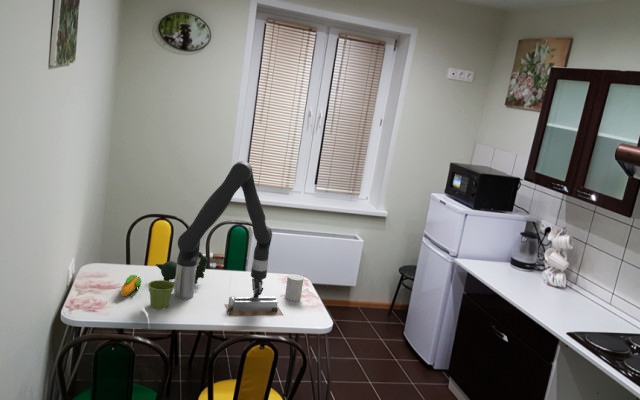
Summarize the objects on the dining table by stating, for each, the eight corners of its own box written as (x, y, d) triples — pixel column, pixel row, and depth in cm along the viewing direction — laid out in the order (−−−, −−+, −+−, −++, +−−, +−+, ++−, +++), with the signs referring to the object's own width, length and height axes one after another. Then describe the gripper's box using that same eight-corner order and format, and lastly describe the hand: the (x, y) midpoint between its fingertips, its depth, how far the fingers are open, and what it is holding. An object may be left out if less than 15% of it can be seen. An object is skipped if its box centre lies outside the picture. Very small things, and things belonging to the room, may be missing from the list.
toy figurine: (202, 284, 288) (153, 276, 283) (209, 250, 285) (160, 242, 280) (201, 291, 279) (151, 283, 274) (208, 256, 276) (158, 247, 271)
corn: (144, 271, 268) (132, 286, 249) (144, 286, 270) (132, 302, 250) (128, 271, 268) (115, 285, 248) (128, 285, 269) (115, 301, 250)
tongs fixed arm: (228, 312, 252) (230, 300, 251) (227, 308, 256) (228, 296, 255) (277, 311, 261) (279, 299, 260) (275, 308, 264) (276, 296, 263)
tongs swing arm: (234, 308, 257) (236, 298, 256) (234, 307, 258) (235, 297, 257) (274, 307, 265) (276, 297, 264) (273, 306, 266) (275, 296, 265)
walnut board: (229, 317, 249) (229, 315, 248) (224, 306, 260) (224, 304, 260) (283, 317, 258) (283, 315, 258) (276, 305, 270) (276, 304, 270)
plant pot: (171, 314, 244) (174, 290, 242) (144, 312, 241) (146, 288, 239) (173, 303, 255) (175, 280, 253) (147, 302, 253) (149, 279, 251)
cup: (294, 303, 276) (297, 281, 274) (281, 298, 280) (284, 276, 278) (303, 299, 283) (306, 277, 280) (290, 294, 287) (293, 273, 285)
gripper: (248, 262, 265) (244, 295, 269) (255, 272, 253) (251, 307, 257) (263, 262, 268) (259, 295, 271) (270, 272, 256) (266, 306, 259)
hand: (255, 301), depth 264 cm, fingers closed
